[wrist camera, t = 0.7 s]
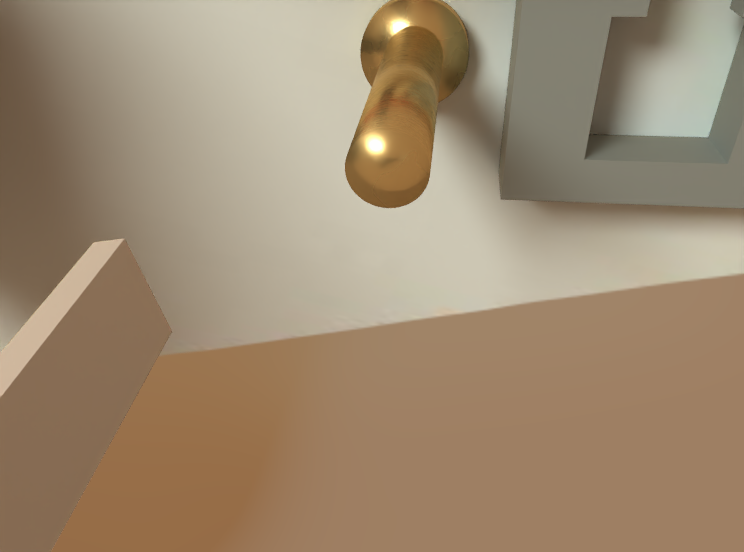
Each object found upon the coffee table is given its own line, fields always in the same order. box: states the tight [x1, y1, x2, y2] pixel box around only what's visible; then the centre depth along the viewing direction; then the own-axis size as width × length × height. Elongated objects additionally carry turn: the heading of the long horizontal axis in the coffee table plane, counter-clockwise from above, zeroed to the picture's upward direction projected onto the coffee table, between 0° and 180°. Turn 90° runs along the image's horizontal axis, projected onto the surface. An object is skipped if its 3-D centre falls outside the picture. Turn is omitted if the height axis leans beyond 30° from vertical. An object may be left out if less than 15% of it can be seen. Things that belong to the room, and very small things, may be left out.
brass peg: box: [345, 0, 469, 208], centre depth 27 cm, size 6×6×14 cm
